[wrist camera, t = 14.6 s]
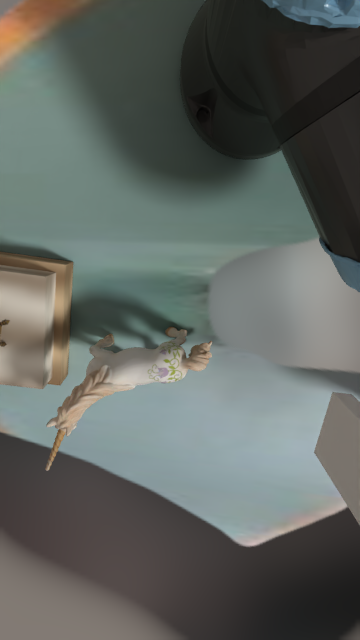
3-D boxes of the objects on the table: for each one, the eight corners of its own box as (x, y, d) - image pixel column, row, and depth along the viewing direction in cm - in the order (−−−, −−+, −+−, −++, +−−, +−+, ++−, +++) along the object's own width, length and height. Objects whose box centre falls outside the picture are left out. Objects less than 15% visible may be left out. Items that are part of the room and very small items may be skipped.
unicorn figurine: (54, 355, 42) (4, 413, 29) (190, 293, 40) (198, 326, 28) (82, 399, 44) (46, 471, 31) (213, 342, 42) (230, 394, 29)
